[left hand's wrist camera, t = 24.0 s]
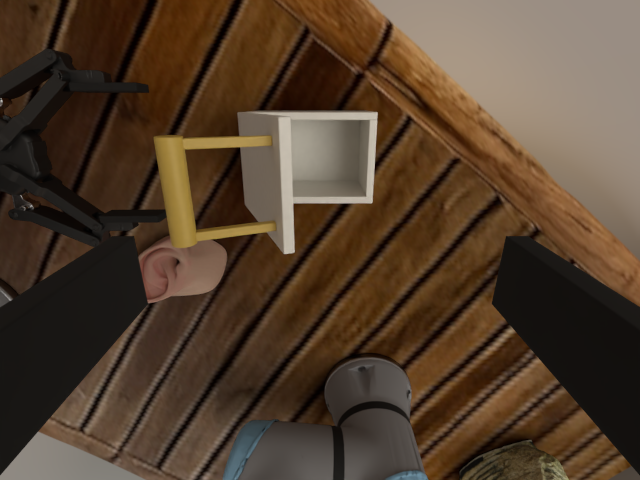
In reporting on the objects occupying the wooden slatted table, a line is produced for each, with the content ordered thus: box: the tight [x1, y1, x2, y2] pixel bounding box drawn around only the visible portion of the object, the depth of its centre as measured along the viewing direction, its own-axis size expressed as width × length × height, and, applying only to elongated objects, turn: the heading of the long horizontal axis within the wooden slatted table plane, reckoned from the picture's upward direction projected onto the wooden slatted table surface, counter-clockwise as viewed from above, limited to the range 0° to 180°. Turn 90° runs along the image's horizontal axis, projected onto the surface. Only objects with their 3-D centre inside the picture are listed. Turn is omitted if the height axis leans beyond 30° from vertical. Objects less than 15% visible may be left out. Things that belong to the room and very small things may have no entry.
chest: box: [248, 111, 377, 203], centre depth 42 cm, size 14×10×10 cm
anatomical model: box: [138, 235, 227, 303], centre depth 51 cm, size 13×4×12 cm
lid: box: [153, 112, 295, 254], centre depth 30 cm, size 15×10×9 cm
